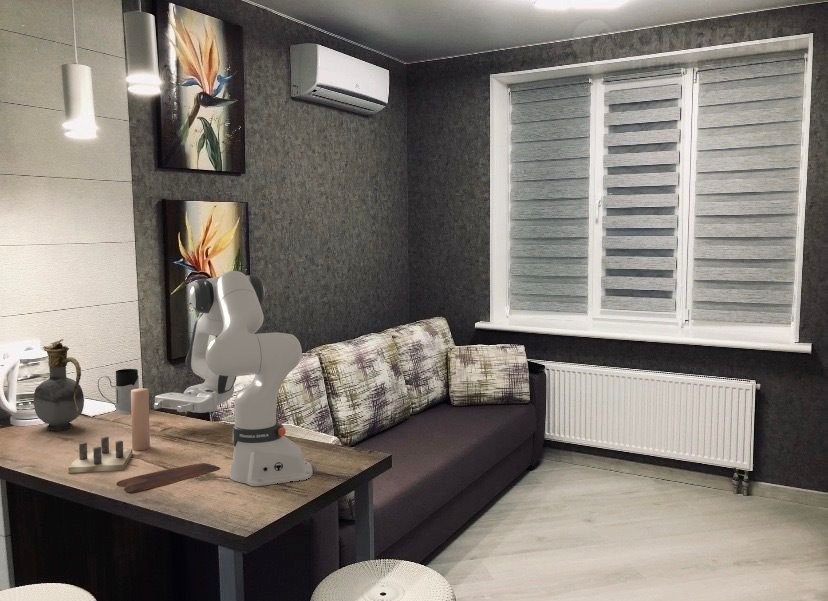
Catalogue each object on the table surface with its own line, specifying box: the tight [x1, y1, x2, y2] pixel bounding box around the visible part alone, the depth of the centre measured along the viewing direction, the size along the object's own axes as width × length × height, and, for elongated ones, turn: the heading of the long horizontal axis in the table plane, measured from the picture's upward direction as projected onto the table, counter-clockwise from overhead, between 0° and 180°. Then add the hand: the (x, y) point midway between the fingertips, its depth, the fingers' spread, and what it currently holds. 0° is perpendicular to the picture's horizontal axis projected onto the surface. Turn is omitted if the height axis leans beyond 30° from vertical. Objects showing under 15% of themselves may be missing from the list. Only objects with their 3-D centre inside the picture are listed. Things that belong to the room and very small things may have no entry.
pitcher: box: [33, 338, 85, 432], centre depth 228 cm, size 11×19×30 cm, turn 61°
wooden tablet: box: [115, 462, 221, 494], centre depth 187 cm, size 26×2×10 cm
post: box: [130, 387, 151, 451], centre depth 210 cm, size 5×5×18 cm
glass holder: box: [97, 368, 140, 415], centre depth 250 cm, size 9×14×15 cm, turn 119°
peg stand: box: [68, 436, 133, 474], centre depth 196 cm, size 14×14×6 cm
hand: (167, 407), depth 220 cm, fingers open, 8 cm apart
